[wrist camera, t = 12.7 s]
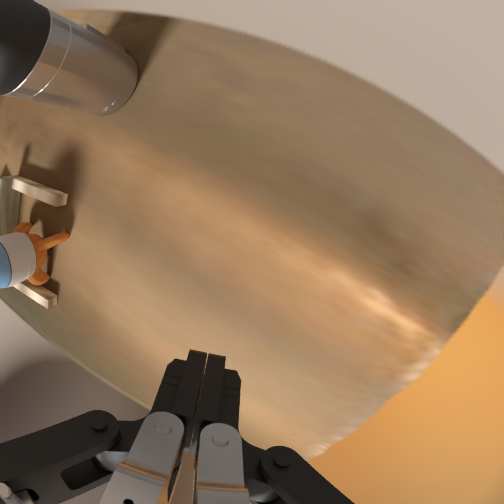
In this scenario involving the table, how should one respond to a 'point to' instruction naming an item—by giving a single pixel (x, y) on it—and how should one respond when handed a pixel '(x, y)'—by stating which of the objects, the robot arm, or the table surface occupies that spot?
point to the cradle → (6, 219)
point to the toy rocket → (25, 255)
